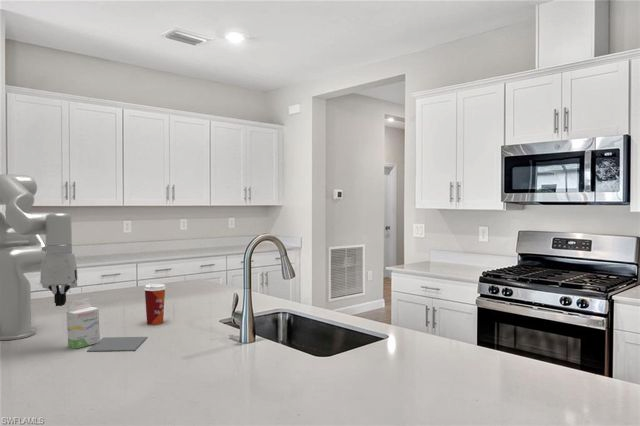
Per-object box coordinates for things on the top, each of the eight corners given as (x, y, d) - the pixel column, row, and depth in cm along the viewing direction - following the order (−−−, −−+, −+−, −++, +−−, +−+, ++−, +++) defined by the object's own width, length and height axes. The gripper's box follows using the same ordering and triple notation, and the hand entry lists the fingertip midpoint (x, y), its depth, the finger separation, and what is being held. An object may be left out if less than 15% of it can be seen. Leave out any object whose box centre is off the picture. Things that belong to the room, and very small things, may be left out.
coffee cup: (161, 325, 179) (161, 287, 178) (140, 325, 179) (140, 287, 178) (169, 320, 187) (169, 283, 186) (149, 319, 187) (148, 283, 187)
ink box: (74, 349, 150) (72, 304, 149) (67, 346, 153) (65, 302, 152) (101, 342, 156) (98, 298, 156) (93, 339, 159) (91, 297, 159)
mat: (86, 351, 148) (86, 350, 148) (103, 338, 162) (103, 337, 162) (135, 350, 149) (135, 349, 149) (147, 337, 163) (147, 336, 163)
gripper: (29, 251, 148) (30, 308, 149) (77, 250, 150) (79, 307, 150) (41, 249, 156) (42, 303, 156) (87, 248, 157) (88, 302, 157)
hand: (60, 305), depth 153 cm, fingers closed
